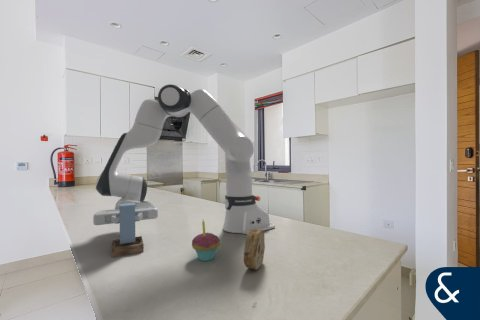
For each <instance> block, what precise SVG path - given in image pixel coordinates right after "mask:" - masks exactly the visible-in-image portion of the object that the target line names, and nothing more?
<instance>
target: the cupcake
mask: <svg viewBox="0 0 480 320" xmlns="http://www.w3.org/2000/svg"><path fill="white" fill-rule="evenodd" d="M201 225H202V233H200V234H198V235H196V236H194V237H193V239H192V241H191V247H192V249H193V250H195V253H196V255H197V257H198V260H199V261H202V262H203V261H204V262H208V261H211V260H213V259H214V258H215V256H216V253H217V250H218V249H219V246H220V245H221V240H220V237H219V236H217V234H214V233H212V232H206V225H205V221H204V219H202V222H201Z"/></svg>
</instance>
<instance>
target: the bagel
mask: <svg viewBox="0 0 480 320" xmlns="http://www.w3.org/2000/svg"><path fill="white" fill-rule="evenodd" d="M265 243H266V242H265V232H264V231H263V230H260V229H254V230H252V231H250V232H249V233H248V234H246V236H245V242H244V250H243V264H244V266H245V267H246V268H248V269H250V270H251V269H252V270H255V271H257V270H258V269H260V268H261V266H262V265H263V262H264V257H265V251H266V250H265V249H266V247H265V246H266V244H265Z"/></svg>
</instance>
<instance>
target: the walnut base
mask: <svg viewBox="0 0 480 320" xmlns="http://www.w3.org/2000/svg"><path fill="white" fill-rule="evenodd" d="M110 251H111V258H115V257H122V256H126V255H127V256H128V255H132V254H138V253H139V254H140V253H144V241H143V237H142V235H139V236H135V242H131V243H124V244H120V238H119V239H113V240H112V243H111V250H110Z"/></svg>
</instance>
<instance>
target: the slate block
mask: <svg viewBox="0 0 480 320" xmlns="http://www.w3.org/2000/svg"><path fill="white" fill-rule="evenodd" d="M119 208H120V223H119V239H120V244H124V243H131V242H135V237H136V222H135V203H125V204H120V206H119Z"/></svg>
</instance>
